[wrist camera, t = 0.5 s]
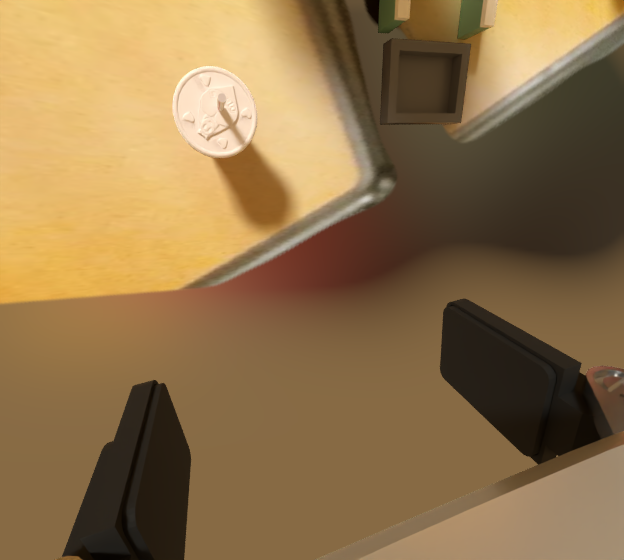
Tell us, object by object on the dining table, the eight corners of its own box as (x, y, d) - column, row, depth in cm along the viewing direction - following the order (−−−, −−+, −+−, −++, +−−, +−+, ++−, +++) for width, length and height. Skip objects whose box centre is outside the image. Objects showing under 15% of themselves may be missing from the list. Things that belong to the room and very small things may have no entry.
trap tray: (383, 43, 35) (391, 38, 33) (459, 48, 37) (470, 43, 36) (380, 124, 38) (387, 123, 36) (451, 124, 40) (460, 122, 39)
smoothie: (258, 120, 34) (285, 97, 21) (225, 171, 35) (233, 177, 22) (203, 75, 31) (197, 19, 19) (170, 131, 32) (142, 113, 20)
